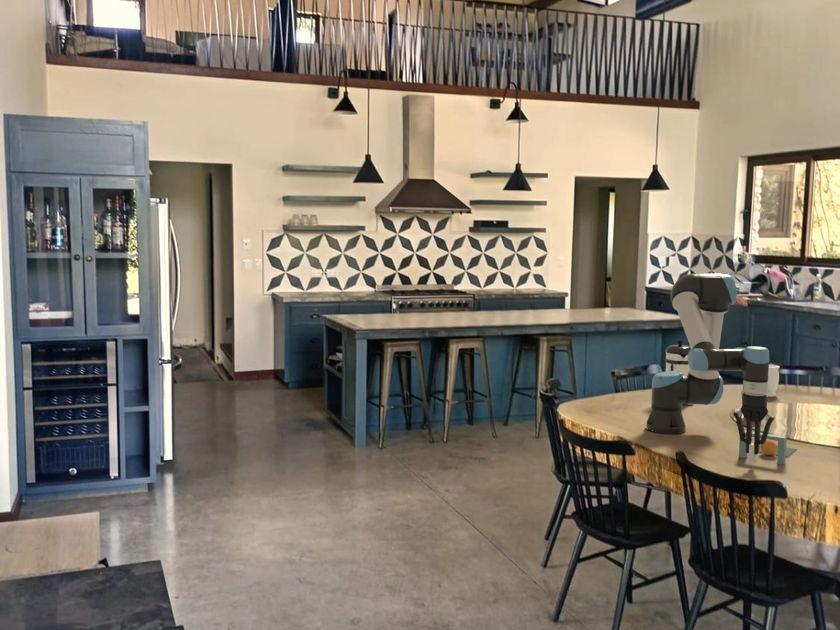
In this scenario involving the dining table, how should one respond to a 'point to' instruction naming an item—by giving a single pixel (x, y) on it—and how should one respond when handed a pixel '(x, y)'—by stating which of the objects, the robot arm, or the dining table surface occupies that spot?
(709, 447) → the dining table surface
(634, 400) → the dining table surface
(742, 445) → the bridge
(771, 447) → the ball
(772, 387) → the jar
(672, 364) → the coffee press
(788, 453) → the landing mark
